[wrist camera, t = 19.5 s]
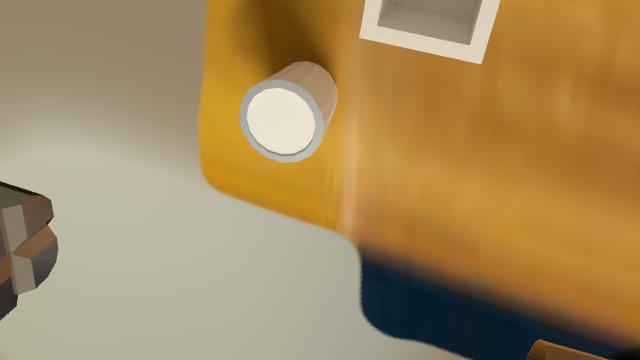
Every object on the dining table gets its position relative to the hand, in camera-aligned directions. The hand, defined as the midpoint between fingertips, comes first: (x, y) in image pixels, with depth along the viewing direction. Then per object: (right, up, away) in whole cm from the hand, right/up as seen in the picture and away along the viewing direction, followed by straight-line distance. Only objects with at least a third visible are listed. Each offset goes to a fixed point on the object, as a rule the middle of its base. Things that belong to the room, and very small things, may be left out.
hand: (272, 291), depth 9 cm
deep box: (+10, +17, +31) cm, 37 cm away
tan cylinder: (0, +9, +39) cm, 40 cm away
